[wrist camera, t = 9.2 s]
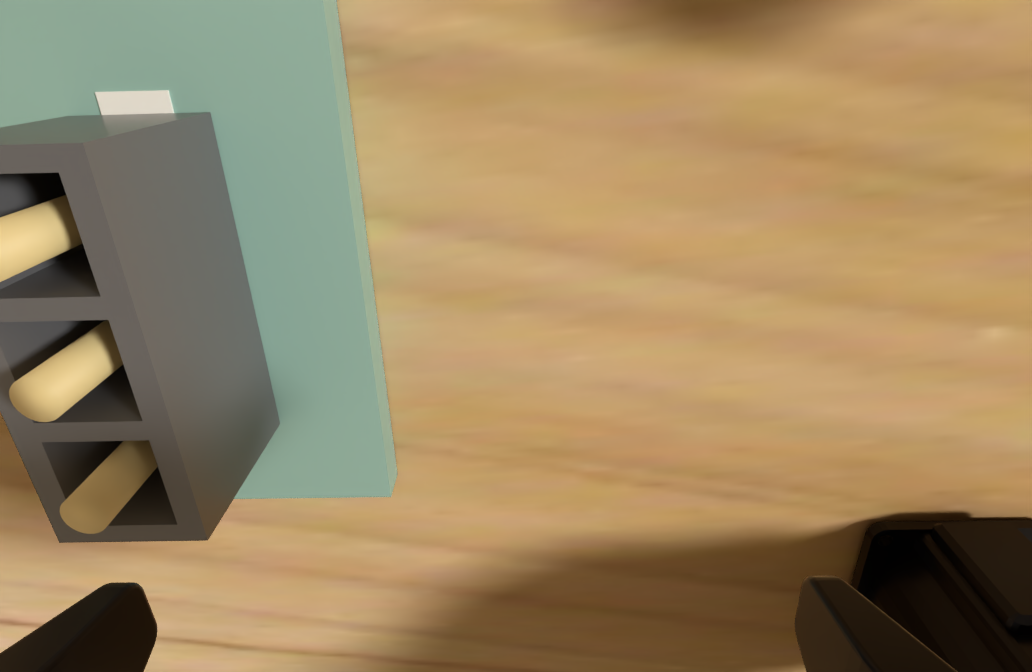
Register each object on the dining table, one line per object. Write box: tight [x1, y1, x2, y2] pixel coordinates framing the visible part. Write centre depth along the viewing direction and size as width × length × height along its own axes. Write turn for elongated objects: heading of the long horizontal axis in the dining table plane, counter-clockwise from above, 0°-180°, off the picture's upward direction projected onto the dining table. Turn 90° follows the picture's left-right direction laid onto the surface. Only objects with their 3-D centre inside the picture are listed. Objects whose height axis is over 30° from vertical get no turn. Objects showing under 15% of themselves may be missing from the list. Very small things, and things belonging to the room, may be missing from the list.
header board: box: [0, 0, 397, 534], centre depth 15 cm, size 15×10×7 cm, turn 1°
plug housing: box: [0, 112, 280, 543], centre depth 15 cm, size 9×4×5 cm, turn 2°
